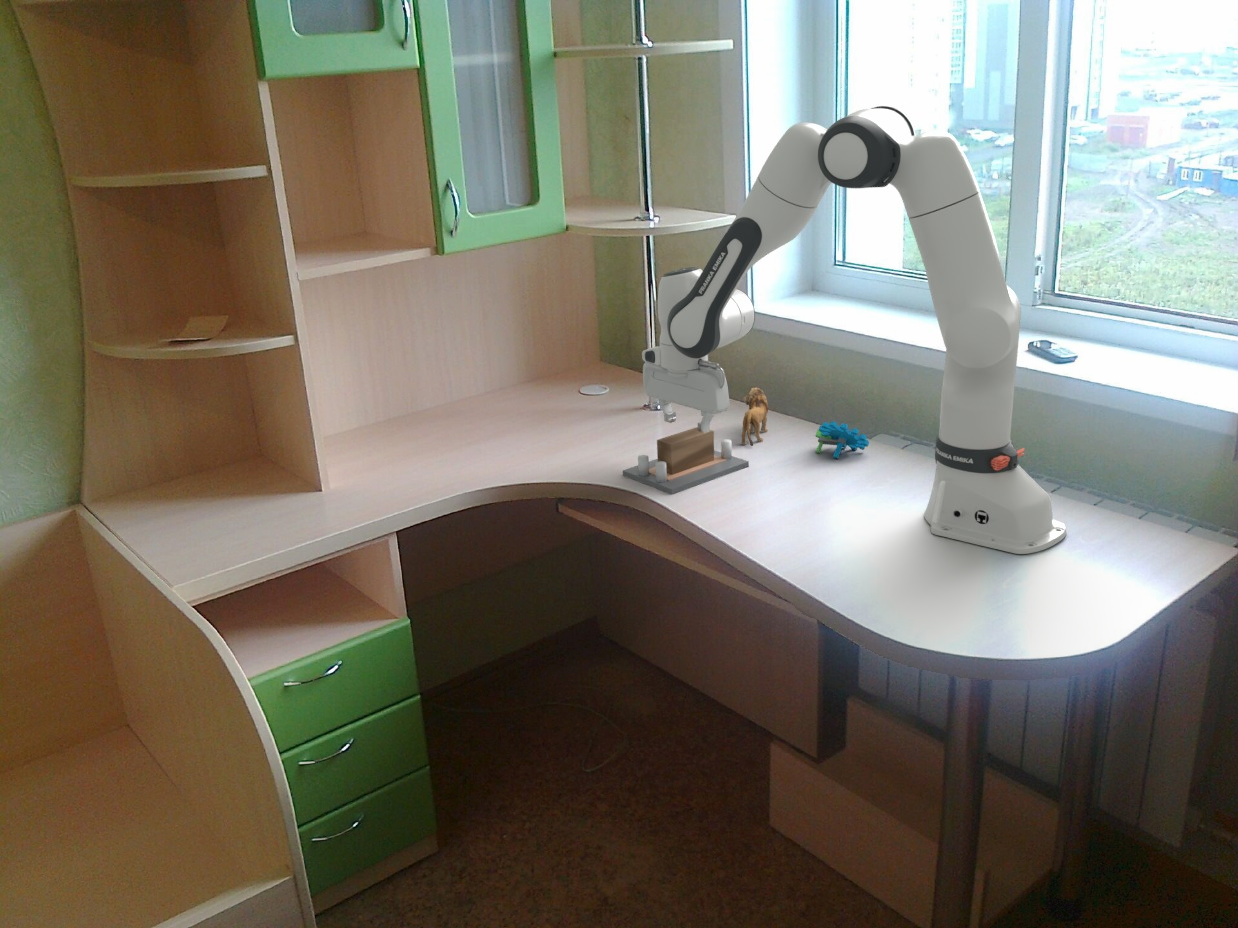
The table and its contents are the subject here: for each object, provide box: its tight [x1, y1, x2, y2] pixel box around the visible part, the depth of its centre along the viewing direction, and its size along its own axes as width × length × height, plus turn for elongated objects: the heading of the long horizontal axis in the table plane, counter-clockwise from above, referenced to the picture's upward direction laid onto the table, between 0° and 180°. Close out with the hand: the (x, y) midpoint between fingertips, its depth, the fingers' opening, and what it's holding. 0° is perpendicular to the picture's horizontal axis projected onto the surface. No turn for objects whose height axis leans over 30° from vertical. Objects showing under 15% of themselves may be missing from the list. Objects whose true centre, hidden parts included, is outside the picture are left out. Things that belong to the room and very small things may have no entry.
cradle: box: [622, 438, 750, 495], centre depth 209 cm, size 14×20×4 cm
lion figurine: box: [740, 387, 769, 447], centre depth 225 cm, size 15×5×9 cm, turn 171°
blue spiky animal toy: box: [815, 420, 870, 460], centre depth 213 cm, size 11×6×10 cm
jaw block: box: [656, 426, 715, 475], centre depth 209 cm, size 4×11×6 cm, turn 130°
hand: (686, 426), depth 207 cm, fingers open, 8 cm apart
